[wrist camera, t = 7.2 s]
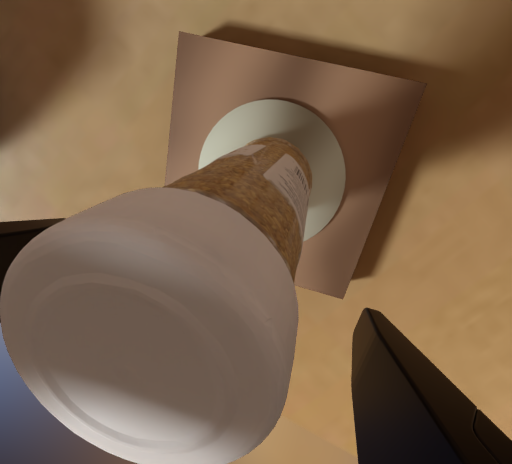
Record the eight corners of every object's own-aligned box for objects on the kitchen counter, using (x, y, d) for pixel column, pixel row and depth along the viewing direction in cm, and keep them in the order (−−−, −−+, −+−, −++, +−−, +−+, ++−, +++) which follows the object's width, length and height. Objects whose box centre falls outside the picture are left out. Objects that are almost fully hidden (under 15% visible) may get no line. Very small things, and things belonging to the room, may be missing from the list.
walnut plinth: (414, 87, 16) (429, 82, 14) (341, 282, 20) (343, 302, 18) (194, 40, 17) (176, 29, 15) (172, 234, 22) (156, 247, 20)
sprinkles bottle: (235, 130, 16) (-54, 187, 4) (323, 145, 15) (326, 272, 3) (225, 212, 18) (9, 436, 5) (304, 228, 17) (259, 522, 5)
